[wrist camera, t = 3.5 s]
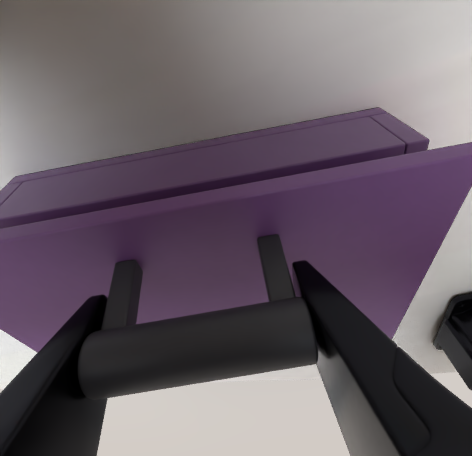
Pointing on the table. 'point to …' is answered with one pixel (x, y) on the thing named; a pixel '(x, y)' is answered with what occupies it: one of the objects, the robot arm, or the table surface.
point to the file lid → (230, 269)
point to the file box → (207, 166)
